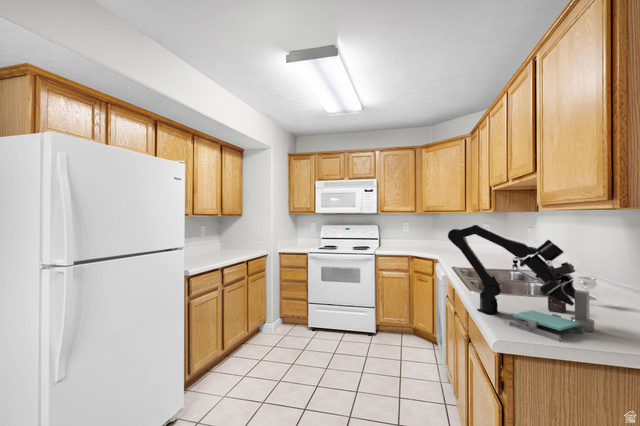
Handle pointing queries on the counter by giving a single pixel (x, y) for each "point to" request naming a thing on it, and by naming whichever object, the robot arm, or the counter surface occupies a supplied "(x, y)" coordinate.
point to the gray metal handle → (583, 311)
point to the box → (556, 305)
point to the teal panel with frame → (534, 329)
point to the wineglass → (587, 284)
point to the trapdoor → (546, 320)
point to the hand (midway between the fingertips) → (577, 302)
